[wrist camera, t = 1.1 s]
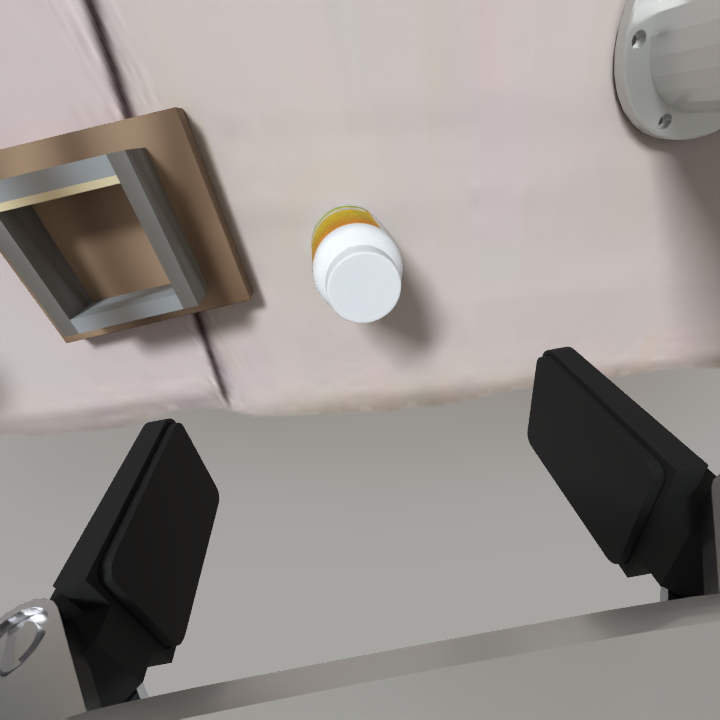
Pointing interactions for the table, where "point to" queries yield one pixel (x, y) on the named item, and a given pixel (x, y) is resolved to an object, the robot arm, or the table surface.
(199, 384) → the table surface
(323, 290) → the supplement bottle
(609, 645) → the robot arm
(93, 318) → the collar board
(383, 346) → the table surface
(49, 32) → the table surface
